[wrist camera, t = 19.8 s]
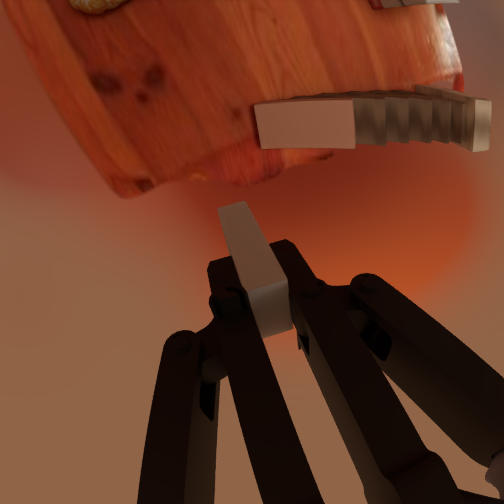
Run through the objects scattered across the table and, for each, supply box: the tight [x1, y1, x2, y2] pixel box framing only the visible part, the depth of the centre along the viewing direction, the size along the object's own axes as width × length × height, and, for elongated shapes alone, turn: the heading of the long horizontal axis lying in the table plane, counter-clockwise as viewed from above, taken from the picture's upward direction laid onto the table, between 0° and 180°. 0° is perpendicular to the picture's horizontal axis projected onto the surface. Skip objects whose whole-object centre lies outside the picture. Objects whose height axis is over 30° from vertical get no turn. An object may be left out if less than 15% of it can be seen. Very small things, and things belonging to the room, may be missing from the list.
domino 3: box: [318, 93, 409, 143], centre depth 33 cm, size 6×2×12 cm
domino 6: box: [393, 90, 467, 144], centre depth 34 cm, size 6×2×12 cm, turn 11°
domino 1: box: [254, 98, 356, 149], centre depth 33 cm, size 6×2×12 cm
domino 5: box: [371, 90, 451, 144], centre depth 33 cm, size 6×2×12 cm
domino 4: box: [347, 91, 432, 143], centre depth 33 cm, size 6×2×12 cm
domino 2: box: [290, 96, 386, 146], centre depth 33 cm, size 6×2×12 cm
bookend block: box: [416, 85, 492, 152], centre depth 34 cm, size 8×5×13 cm, turn 11°
